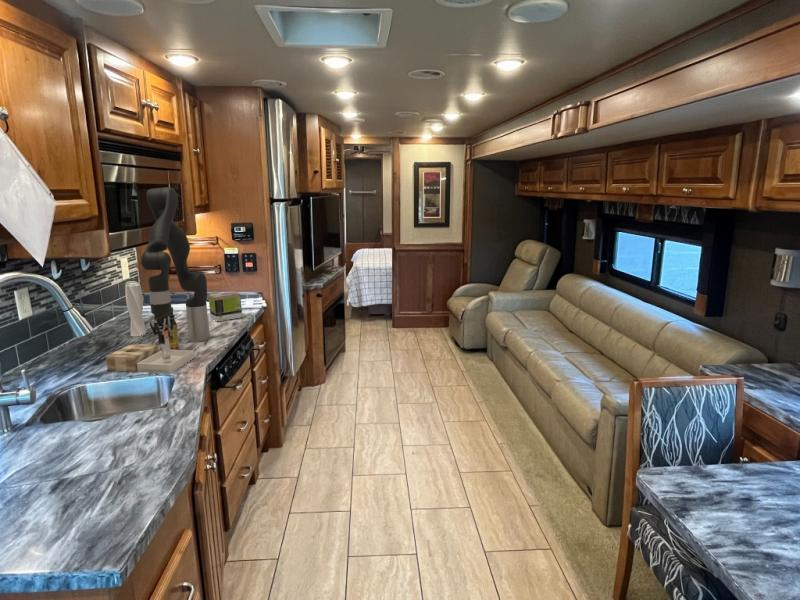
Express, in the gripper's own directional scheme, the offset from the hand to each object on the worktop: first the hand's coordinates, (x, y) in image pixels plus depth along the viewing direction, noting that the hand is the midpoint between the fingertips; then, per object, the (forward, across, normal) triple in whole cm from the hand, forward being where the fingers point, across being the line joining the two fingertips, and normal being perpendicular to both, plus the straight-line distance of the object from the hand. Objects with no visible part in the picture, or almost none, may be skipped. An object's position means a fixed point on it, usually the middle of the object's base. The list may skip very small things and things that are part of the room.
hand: (164, 341), depth 196 cm
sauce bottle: (+10, -18, -9) cm, 23 cm away
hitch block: (+10, +1, -14) cm, 17 cm away
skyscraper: (+10, -38, -39) cm, 55 cm away
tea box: (+10, -74, -10) cm, 75 cm away
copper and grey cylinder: (+7, 0, 0) cm, 7 cm away
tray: (+10, 0, 0) cm, 10 cm away
